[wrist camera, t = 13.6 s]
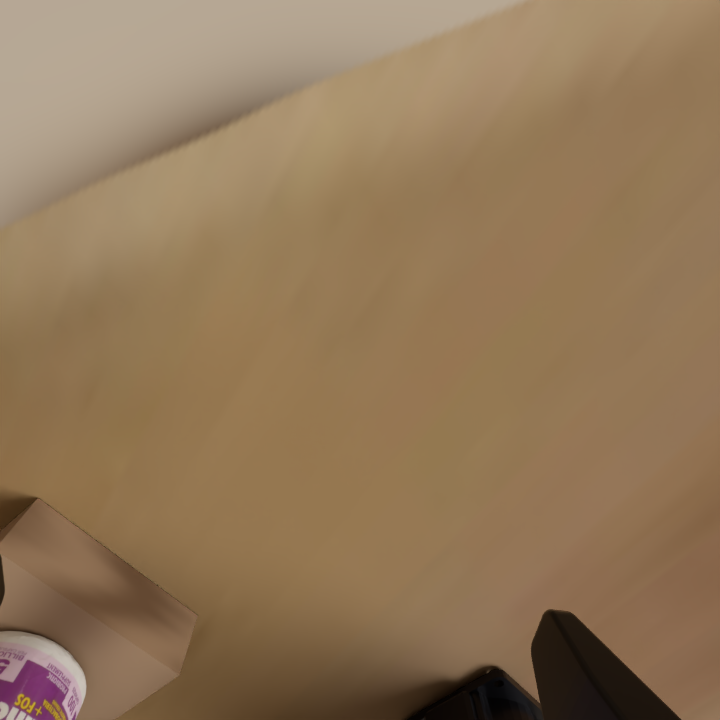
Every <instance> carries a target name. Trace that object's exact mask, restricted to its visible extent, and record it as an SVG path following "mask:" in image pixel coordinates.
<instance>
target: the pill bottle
mask: <svg viewBox="0 0 720 720" xmlns="http://www.w3.org/2000/svg"><path fill="white" fill-rule="evenodd" d="M85 695H86V679H85V675H84V672H83V670H82V669H81V667H80V665H79V664H78V663H77V661H76V660H75V659H74V658H73V656H72V655H71V654H70V653H69V652H68V651H67V650H65V649H64V648H63V647H62V646H60V645H59V644H57V643H55V642H53V641H51V640H49V639H47V638H45V637H42V636H39V635H35V634H30V633H26V632H21V631H1V632H0V720H76V718H77V715H78V713H79V711H80V708H81V706H82V704H83V701H84V698H85Z"/></svg>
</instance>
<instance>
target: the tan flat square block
mask: <svg viewBox="0 0 720 720" xmlns="http://www.w3.org/2000/svg"><path fill="white" fill-rule="evenodd" d="M0 554H1V557H2V565H3V574H4V583H5V595H4V598H3V601H2V604H1V606H0V632H1V631H21V632H26V633H30V634H35V635H39V636H42V637H45V638H47V639H49V640H51V641H53V642H55V643H57V644H59V645H60V646H62V647H63V648H64V649H65V650H67V651H68V652H69V653H70V654H71V655H72V656H73V658H74V659H75V660H76V661H77V663H78V664H79V665H80V667H81V669H82V670H83V672H84V675H85V679H86V695H85V698H84V701H83V704H82V706H81V708H80V711H79V713H78V715H77V718H76V720H115V719H116V718H118V717H119V716H121V715H122V714H124V713H125V712H127V711H128V710H130V709H131V708H133V707H134V706H136V705H137V704H138V703H140V702H141V701H143V700H144V699H146V698H147V697H149V696H150V695H152V694H153V693H155V692H156V691H157V690H159V689H160V688H162V687H163V686H165V685H166V684H168V683H169V682H171V681H172V680H174V679H175V678H176V677H178V676H179V675H180V672H181V669H182V666H183V663H184V659H185V656H186V653H187V650H188V646H189V643H190V640H191V637H192V633H193V630H194V627H195V623H196V620H197V617H198V616H197V615H196V614H195V613H193V612H192V611H191V610H189V609H188V608H187V607H185V606H184V605H183V604H181V603H180V602H178V601H177V600H176V599H174V598H173V597H172V596H170V595H169V594H168V593H166V592H165V591H164V590H162V589H161V588H159V587H158V586H157V585H155V584H154V583H153V582H151V581H150V580H149V579H147V578H146V577H145V576H143V575H142V574H140V573H139V572H138V571H136V570H135V569H134V568H132V567H131V566H130V565H128V564H127V563H126V562H124V561H123V560H121V559H120V558H119V557H117V556H116V555H115V554H113V553H112V552H111V551H109V550H108V549H107V548H105V547H104V546H102V545H101V544H100V543H98V542H97V541H96V540H94V539H93V538H92V537H90V536H89V535H88V534H86V533H85V532H83V531H82V530H81V529H79V528H78V527H77V526H75V525H74V524H73V523H71V522H70V521H69V520H67V519H66V518H65V517H63V516H62V515H60V514H59V513H58V512H56V511H55V510H54V509H52V508H51V507H50V506H48V505H47V504H46V503H44V502H43V501H41V500H40V499H39V498H38V499H36V500H35V501H34V502H33V503H32V504H31V505H30V506H28V507H27V508H26V509H25V510H24V511H23V512H22V513H20V514H19V515H18V516H17V517H16V518H15V519H14V520H12V521H11V522H10V523H9V524H8V525H7V526H6V527H4V528H3V529H2V530H1V531H0Z"/></svg>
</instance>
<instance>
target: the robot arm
mask: <svg viewBox="0 0 720 720" xmlns="http://www.w3.org/2000/svg"><path fill="white" fill-rule="evenodd" d="M4 595H5V583H4V574H3V565H2V557H1V554H0V606H1V604H2V601H3V598H4ZM531 657H532V662H533V668H534V673H535V678H536V683H537V689H538V694H539V699H540V703H538V702H537V701H536V700H535V699H534V698H533V697H532V696H531V695H530V694H529V693H527V692H526V691H525V690H524V689H523V688H522V687H521V686H520V685H519V684H518V683H517V682H515V681H514V680H513V679H512V678H511V677H510V676H509V675H508V674H507V673H506V672H504V671H503V670H499V669H498V670H493V671H491V672H489V673H487V674H485V675H484V676H482V677H480V678H478V679H477V680H475V681H473V682H471V683H470V684H468V685H466V686H464V687H463V688H461V689H459V690H457V691H456V692H454V693H452V694H450V695H449V696H447V697H445V698H444V699H442V700H440V701H438V702H437V703H435V704H433V705H431V706H430V707H428V708H426V709H424V710H423V711H421V712H419V713H417V714H416V715H414V716H412V717H410V718H409V719H407V720H681V719H680V718H679V717H678V716H677V715H676V714H675V713H674V712H673V711H672V710H671V709H670V708H669V707H668V706H667V705H666V704H665V703H664V702H663V701H662V700H661V699H660V698H659V697H658V696H657V695H656V694H655V693H654V692H653V691H652V690H651V689H650V688H649V687H648V686H647V685H645V684H644V683H643V682H642V681H641V680H640V679H639V678H638V677H637V676H636V675H635V674H634V673H633V672H632V671H631V670H630V669H629V668H628V667H627V666H626V665H625V664H624V663H623V662H622V661H621V660H620V659H619V658H618V657H617V656H616V655H615V654H614V653H613V652H612V651H611V650H610V649H609V648H608V647H607V646H606V645H605V644H604V643H603V642H602V641H600V640H599V639H598V638H597V637H596V636H595V635H594V634H593V633H592V632H591V631H590V630H589V629H588V628H587V627H586V626H585V625H584V624H583V623H582V622H581V621H580V620H579V619H578V618H577V617H576V616H575V615H574V614H572V613H571V612H568V611H562V610H552V609H549V610H547V611H546V612H544V614H543V616H542V619H541V621H540V624H539V626H538V629H537V631H536V633H535V636H534V638H533V641H532V646H531Z"/></svg>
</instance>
